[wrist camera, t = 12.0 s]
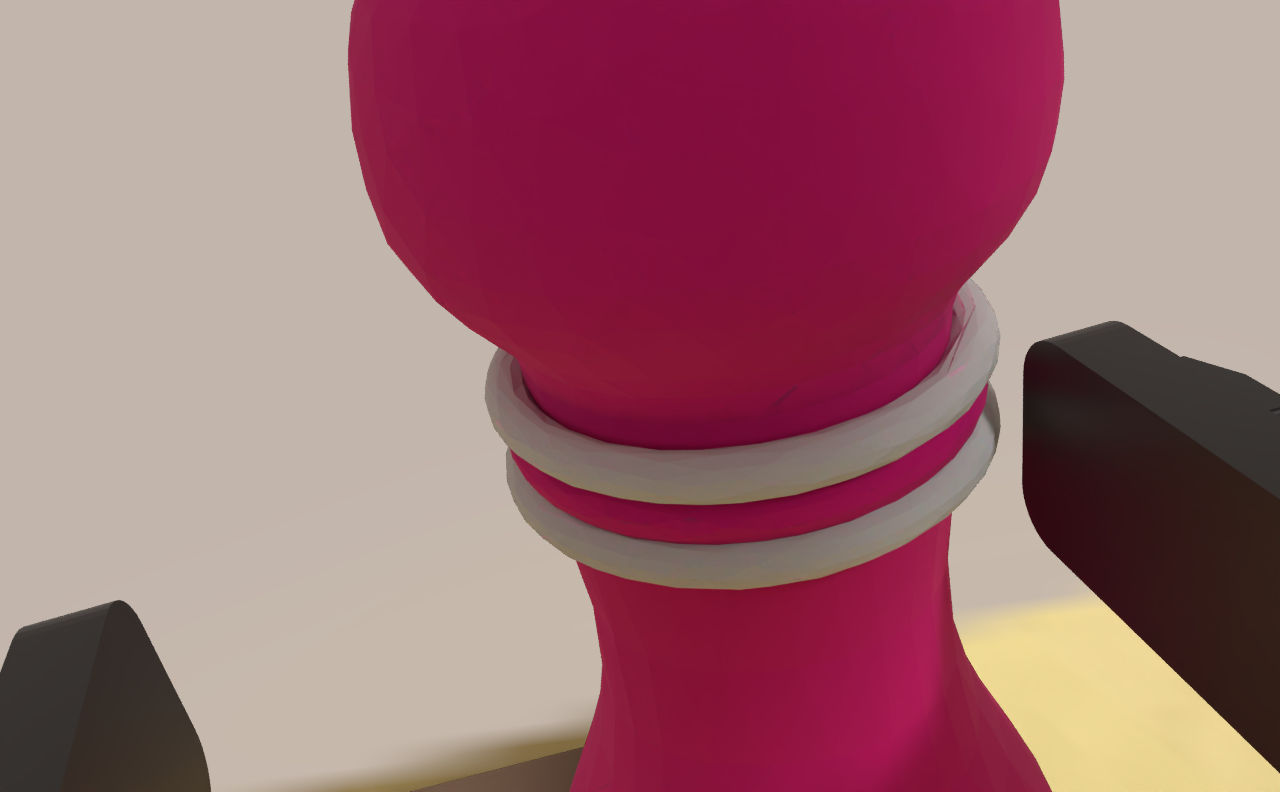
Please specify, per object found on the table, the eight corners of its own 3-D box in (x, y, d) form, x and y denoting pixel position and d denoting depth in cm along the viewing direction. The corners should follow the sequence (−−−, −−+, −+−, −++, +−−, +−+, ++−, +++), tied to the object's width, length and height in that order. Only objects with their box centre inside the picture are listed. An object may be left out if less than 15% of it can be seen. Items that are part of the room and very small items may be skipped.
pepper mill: (610, 903, 21) (257, -355, 11) (995, 854, 20) (985, -503, 11) (612, 1393, 15) (-214, -521, 5) (1166, 1336, 14) (1540, -905, 4)
